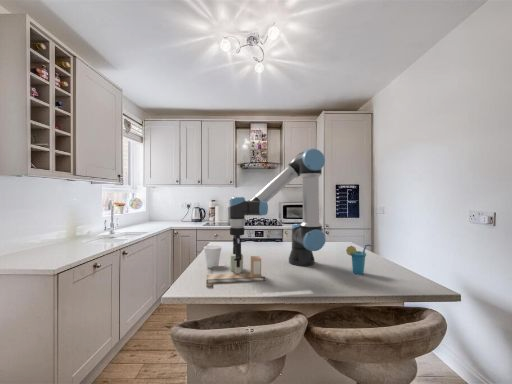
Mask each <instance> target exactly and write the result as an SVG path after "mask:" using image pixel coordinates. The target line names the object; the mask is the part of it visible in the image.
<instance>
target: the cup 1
mask: <svg viewBox="0 0 512 384" xmlns="http://www.w3.org/2000/svg"><path fill="white" fill-rule="evenodd" d="M222 249H223V246H221V245H217V244H212V245H210V244H209V245H206V246H203V250H204V254H205V255H204V256H205V262H206V267H207V268H208V269H213V267H219V263H220V259H221V252H222Z"/></svg>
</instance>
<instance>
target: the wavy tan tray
mask: <svg viewBox="0 0 512 384" xmlns="http://www.w3.org/2000/svg"><path fill="white" fill-rule="evenodd" d="M265 281H266V280H265V276H263V275H261V277H251V272H249V273H248V272H247V273H245V272H244V273H241V274H235V273H224V274H223V273H222V274H206V284H205V285H206V287H214V284H227V283H228V284H229V283H248V282H265Z"/></svg>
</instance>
